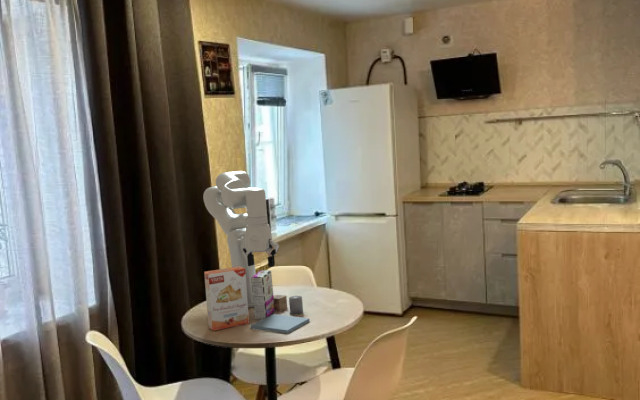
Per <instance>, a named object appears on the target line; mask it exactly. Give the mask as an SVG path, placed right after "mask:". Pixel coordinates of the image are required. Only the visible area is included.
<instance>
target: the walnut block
mask: <svg viewBox="0 0 640 400" xmlns="http://www.w3.org/2000/svg"><path fill="white" fill-rule="evenodd" d="M273 297H274V307H275V311H274V312H282V311H283V310H285V309H288V300H287V295H285V294H284V295H283V294H275V295H274V294H273Z"/></svg>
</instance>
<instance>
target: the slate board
mask: <svg viewBox="0 0 640 400" xmlns="http://www.w3.org/2000/svg"><path fill="white" fill-rule="evenodd" d="M310 322H311V321H310V318H309V317H308V318H307V317H301V316H294V315H293V316H292V315H283V314H274V313H272V314H271V315H270V316H269V317H267V318H265V319H260V320H259V321H257V322H255V323H252V324H250V329H251V330H257V331H258V330H259V331H265V332H273V333H279V334H290V333H292V332H294V331H295V330H297V329H299V328H300V327H302V326H304V325H306V324H308V323H310Z"/></svg>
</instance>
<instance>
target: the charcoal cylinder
mask: <svg viewBox="0 0 640 400" xmlns="http://www.w3.org/2000/svg"><path fill="white" fill-rule="evenodd" d="M288 303H289V314H290V315H293V316H295V315H301V314H303V313H304V307H303V296H302V295H293V296H289V297H288Z"/></svg>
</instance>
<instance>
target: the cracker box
mask: <svg viewBox="0 0 640 400" xmlns="http://www.w3.org/2000/svg"><path fill="white" fill-rule="evenodd" d="M203 274H204V286H205V298H206V309H207V310H206V311H207V323H208V327H209V329H210V330H211V331H213V332H214V331H220V330H223V329H228V328H233V327H237V326H244V325H248V324H249V323H250V319H249V318H250V317H249V308H248V301H247V286H246V272H245V269H244V268H242V267H240V266H239V267H232V266H231V267H227V268H220V269H215V270H207V271H204V273H203Z"/></svg>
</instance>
